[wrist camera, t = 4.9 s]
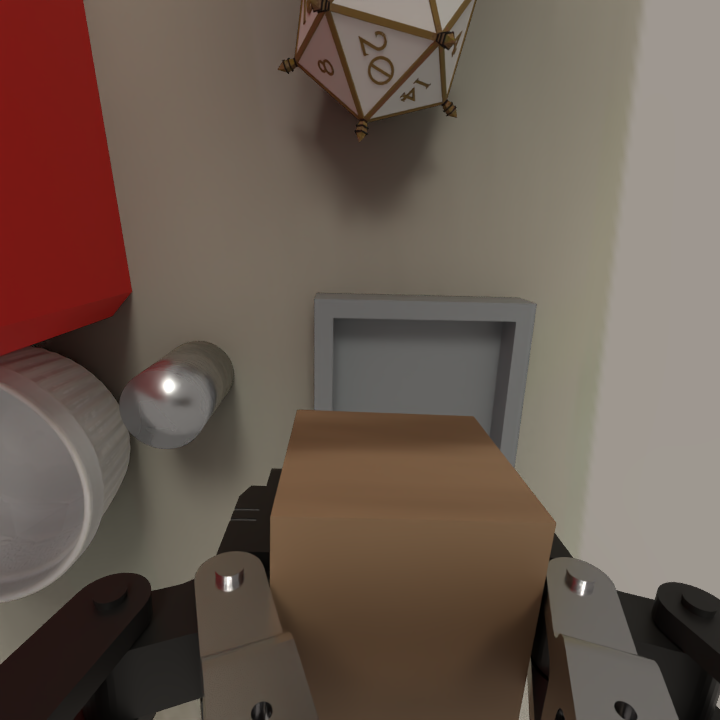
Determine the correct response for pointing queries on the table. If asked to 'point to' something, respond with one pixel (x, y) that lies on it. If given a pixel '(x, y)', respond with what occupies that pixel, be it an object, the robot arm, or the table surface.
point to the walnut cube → (407, 566)
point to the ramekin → (53, 465)
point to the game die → (382, 53)
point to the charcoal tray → (425, 357)
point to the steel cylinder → (176, 395)
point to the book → (54, 179)
